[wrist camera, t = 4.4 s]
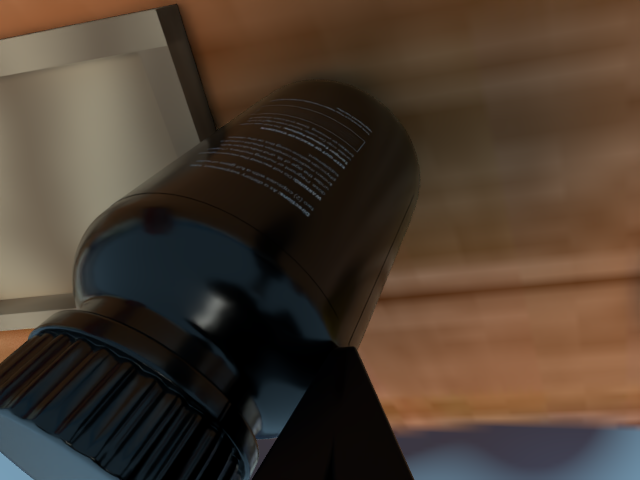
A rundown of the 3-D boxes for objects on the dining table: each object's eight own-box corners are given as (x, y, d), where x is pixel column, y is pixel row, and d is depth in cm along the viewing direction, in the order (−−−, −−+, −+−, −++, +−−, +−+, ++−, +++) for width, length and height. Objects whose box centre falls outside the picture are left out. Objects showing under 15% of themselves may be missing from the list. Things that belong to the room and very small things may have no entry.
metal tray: (176, 3, 14) (155, 9, 13) (263, 283, 20) (256, 309, 19) (-199, 79, 16) (-254, 91, 15) (-15, 309, 23) (-41, 334, 21)
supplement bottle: (222, 150, 17) (-106, 391, 9) (332, 26, 13) (-116, 264, 4) (333, 268, 19) (149, 580, 10) (467, 193, 14) (348, 637, 6)
